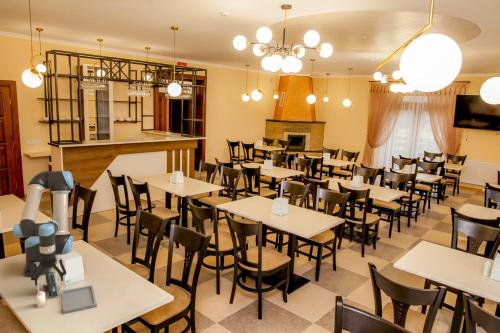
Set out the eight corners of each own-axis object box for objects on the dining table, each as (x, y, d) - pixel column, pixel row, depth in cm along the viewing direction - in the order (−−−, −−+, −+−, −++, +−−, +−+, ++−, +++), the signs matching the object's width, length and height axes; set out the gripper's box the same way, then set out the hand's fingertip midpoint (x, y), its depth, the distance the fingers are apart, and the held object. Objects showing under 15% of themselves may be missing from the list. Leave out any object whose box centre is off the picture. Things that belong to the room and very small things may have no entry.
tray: (62, 293, 200) (61, 290, 199) (92, 287, 207) (92, 285, 207) (63, 314, 181) (63, 311, 181) (96, 306, 189) (96, 303, 188)
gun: (43, 264, 205) (53, 266, 195) (48, 292, 205) (58, 295, 195) (38, 265, 203) (48, 267, 193) (43, 294, 203) (53, 297, 193)
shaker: (37, 305, 188) (36, 290, 186) (45, 303, 190) (44, 288, 188) (36, 309, 184) (36, 294, 183) (45, 307, 186) (44, 292, 185)
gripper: (23, 257, 186) (25, 296, 190) (70, 250, 197) (72, 287, 201) (24, 252, 193) (26, 289, 196) (70, 246, 204) (71, 281, 207)
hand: (49, 288), depth 199 cm, fingers open, 10 cm apart
